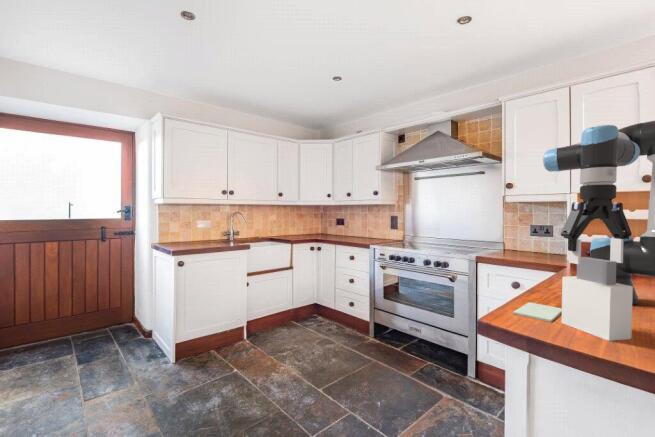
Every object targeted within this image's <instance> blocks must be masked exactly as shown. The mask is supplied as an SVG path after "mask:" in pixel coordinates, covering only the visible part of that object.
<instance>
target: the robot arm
mask: <svg viewBox="0 0 655 437" xmlns="http://www.w3.org/2000/svg"><path fill="white" fill-rule="evenodd" d="M643 156H646V159H647V160H648V161H649V162H651V164H652V167H651V178H650V180H651V181H650V192H649V203H648V214H647V224H646V226H647V227H646V231H645V232H644V233H643V234H640V236H639V241H637V240H634V238H633V237H632V234H633V233H632V231H631V228H630V225H629V222H628V220H627V217H626V215H625V212H624V204H623V203H622V202H613V200H615V199H616V198H617V185H616V184H615V183H617V175H618V174H617V172H618V170H617V169H618V167H625V166H629V165H631V164H633V163H634V162H636V161H637V160H638V159H639V157H643ZM542 157H543V158H542V163H543V167H544V169H545V170H546V171H548V172H551V173H552V172H558V173H560V172H563V171H573V170H579V171H580V172H579V174H580V175H579V176H580V177H579V184H580V185H581V186H580V187H579V199H580V200H582V201H581V202H579V201H577V202H572V203H571V207H570V208H571V209H570V212H569V214H568V217H567V218H566V221H565V223H564V225H563V228H562V229H561V230H562V231H561V232H560V236H561V237H563V238H564V239H567V251H568V263H569V264H575V265H577V264H581V257H582V239H579V238H580V237H581V235H582V234H583V233H584V231H585V230H586V229H587V227H588V226H589V225H590V223H591V222H592V221H594V220H600V221H602V223H603V224H604V225H605V227H606V228H607V230H608V231H609V232H610V234H611V236H612V237H600V238H599V237H598V238H597V237H596V238H593V239H591V241H590V248H589V258H595V259H602V260H609V261H616V283H619V284H624V285H629V286H633V296H632V306H633V305H637V304H638V303H639V296H638V295H637V291H636V288H635V285H634V283H633V279H632V278H633V275H635V276H636V275H638V276H644V277H649V278H651V277H652V278H655V120H652V121H650V120H649V121H645V122H640V123H634V124H631V125H628V126H625V127H622V128H618V127H617V125H613V124H603V125H602V124H601V125H597V126H592V127H587V128H585V129H584V130H583V131H582V132H581V138H580V142H577V143H574V144H570V145H566V146H562V147H555V148H551V149H550V148H549V149H547V150H546V151H545V152H544V154H543V156H542Z"/></svg>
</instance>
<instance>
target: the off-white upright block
mask: <svg viewBox="0 0 655 437" xmlns="http://www.w3.org/2000/svg"><path fill="white" fill-rule="evenodd" d="M561 282H562V284H561V286H562V288H561V308H562V313H561V324H564V325H566V326H568V327H572V328H574V329H577V330H578V331H582V332H585V333H587V334H590V335H593V336H595V337H598V338H600V339H603V340H606V341H608V342H611V341H613V342H614V341H623V340H631V339H632V332H633V331H632V330H633V329H632V327H633V325H632V324H633V305H632V296H633V286H629V285H624V284H619V283H616V261H609V260H602V259H595V258H590V257H588V256H581V264H576V275H574V276H562V281H561Z"/></svg>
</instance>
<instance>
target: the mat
mask: <svg viewBox="0 0 655 437" xmlns="http://www.w3.org/2000/svg"><path fill="white" fill-rule="evenodd" d="M512 314H514V315H517V316H523V317H527V318H531V319H535V320H536V319H537V320H540V321H545V322H549V323H552V322H553V320H555V319H556V318H557V317H559V316H560V315H562V307H556V306H551V305H547V304H546V305H545V304H541V303H540V304H539V303H535V302H529V301H528V302H527V303H525V304H524V305H522V306H520V307H519V308H517V309H515V310H514V311H513V312H512Z"/></svg>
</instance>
